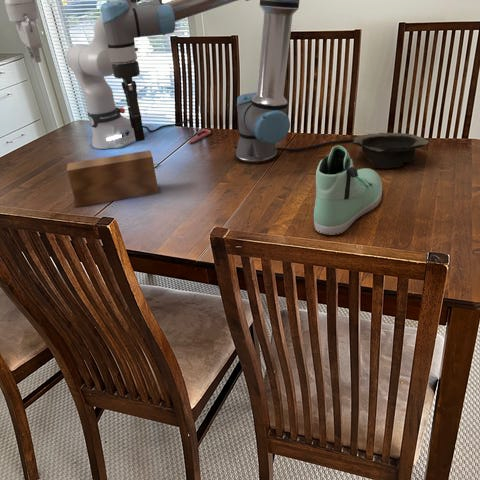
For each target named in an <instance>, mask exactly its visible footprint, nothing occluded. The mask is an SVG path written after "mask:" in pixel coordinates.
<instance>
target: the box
mask: <svg viewBox="0 0 480 480" xmlns="http://www.w3.org/2000/svg"><path fill="white" fill-rule="evenodd" d="M153 157H154V156H153V154H152V150H149V149H148V150H144V151H138V152H131V153H125V154H118V155H112V156H106V157H100V158H93V159H87V160H80V161H74V162H68V163H67V165H66V173H67V176H68V177H67V178H68V180H69V184H70V187H71V191H72V195H73V197H74V198H73V199H74V202H75V205H76V208H80V207H86V206H92V205H96V204H97V205H98V204H102V203H103V204H104V203H109V202H115V201H120V200H126V199H131V198H132V199H133V198H136V197H142V196H143V197H144V196H147V195H154V194H159V186H158V181H157V175H156V168H155V167H154V164H155V163H154V158H153Z"/></svg>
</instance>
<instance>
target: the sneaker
mask: <svg viewBox="0 0 480 480" xmlns="http://www.w3.org/2000/svg"><path fill="white" fill-rule="evenodd" d="M317 165H318V166H317V168H316V172H315V201H314V207H313V225H314V229H315V231H316V232H318V233H320V234H323V235H326V236H327V235H328V236H336V235H339V234H342V233H344V232H345V231H347V230H348V229H349V228H350V227H351V226H352V225H353V224H354V222H356V221H357V220H358V219H359V218H360V217H362V216H363V215H365V214H367V213H370V212H372V210H374V209H375V208H377V207H378V205H380V203H381V200H382V196H383V184H382V183H383V182H382V179H381V176H380V175H379V173H378V172H377V171H376V170H374V169H372V168H367V167H365V168H358V169H357V168H355V167H354V161H353V159H352V158H351V156H350V153H349V152H348V150H347V148H345V147H344V146H342V145H334V146H333V147H331V149H330V151H329V154H327V155H326V156H325V157H324V158H322V159H321V160H320V161H319V163H318V164H317ZM343 230H344V231H343ZM319 231H320V232H319ZM322 232H323V233H322ZM339 232H340V233H339ZM326 233H327V234H326ZM328 233H329V234H328ZM335 233H337V234H335Z"/></svg>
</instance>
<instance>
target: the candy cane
mask: <svg viewBox="0 0 480 480" xmlns="http://www.w3.org/2000/svg"><path fill="white" fill-rule="evenodd" d="M196 134H197V135H198V136H196V137H194V138H192V139H190V140H189V142H188V143H189V144H191V145H192V144H194V143H196V142H199V140H203V139H204V138H206V137H208V136H210V135H211V134H212V131H211V130H210V129H208V128H203V129H200V130H199V129H198V130H197V132H196Z"/></svg>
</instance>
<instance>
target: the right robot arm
mask: <svg viewBox="0 0 480 480" xmlns="http://www.w3.org/2000/svg"><path fill="white" fill-rule="evenodd" d="M238 1H239V0H149V1H141V2H138V3H137V6H136V8H129V6H128V3H127V2H126V1H114V2H109V1H106V2H103V3H102V4H101V6H100V14H101V13H102V20H103V25H104V30H105V35H106V39H107V44H108V50H109V55H110V60H111V62H112V63H113V64H112V69H113V74H112V75H113V77H114V78H115V79H122V82H121V87H122V88H121V89H122V90H123V94H124V96H125V102H126V106H127V112H128V116H129V118H128V119H129V120H130V122H131V127H132V128H133V129H134V134H135V140H136V141H135V142H141V141H146V136H145V137H144V135H145V132H144V128H143V126H144V125H143V120H142V114H141V110H140V104H139V101H138V91H137V89H138V88H137V83H136V81H135V80H133V78H135V77H138V76H139V75H141V72H140V71H141V70H140V65H139V62H138V60H137V59H138V55H137V52H139V48H138V47H136V43H135V38H145V37H154V36H166V35H169V34H170V35H171V34H173V33H175V31H176V22H177V21H181V20H183V19H187V18H190V17H193V16H196V15H199V14H202V13H205V12H207V11H208V12H209V11H211V10H214V9H216V8H219V7H220V8H221V7H223V6H225V5H228V4H231V3H234V2H238ZM245 1H246V2H248V1H250V0H245ZM259 7H260V9H261V10H262V11H263V21H262V31H261V42H260V43H261V44H260V55H259V65H258V66H259V67H258V78H257V89H256V91H257V92H249V93H244V94H241V95H240V94H239V96H238V97H237V99H236V110H237V120H238V121H237V123H238V135H239V137H238V138H239V139H238V142H237V148H236V150H235V158H236V160H237V161H239V162H240V163H243V164H249V165H250V164H251V165H253V164H254V165H255V164H258V165H259V164H265V163H268V162H271V161H273V160H275V159H276V158H277V157H278V151H282V152H283V151H286V152H297V151H298V152H299V151H303V150H304V151H305V150H308V149H314V148H318V147H322V146H328V145H334V144H341V143H348V142H350V143H351V142H354V138H349V139H348V138H347V139H339V140H332V141H327V142H321V143H317V144H313V145H312V144H311V145H307V146H303V147H297V148H295V147H294V148H287V147H276V144H279V143H280V142H282V141H283V140H284V139H285V138H286V137H287V136H288V134H289V131H290V128H291V121H290V118H289V116H288V115H287V110H288V100H287V99H286V98H285V95H284V94H285V85H286V77H287V70H288V68H287V67H288V59H289V52H290V51H289V50H290V41H291V34H292V33H291V31H292V24H293V16H294V14H295V13H296V12H297V11H298V10H299V7H300V0H259Z"/></svg>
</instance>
